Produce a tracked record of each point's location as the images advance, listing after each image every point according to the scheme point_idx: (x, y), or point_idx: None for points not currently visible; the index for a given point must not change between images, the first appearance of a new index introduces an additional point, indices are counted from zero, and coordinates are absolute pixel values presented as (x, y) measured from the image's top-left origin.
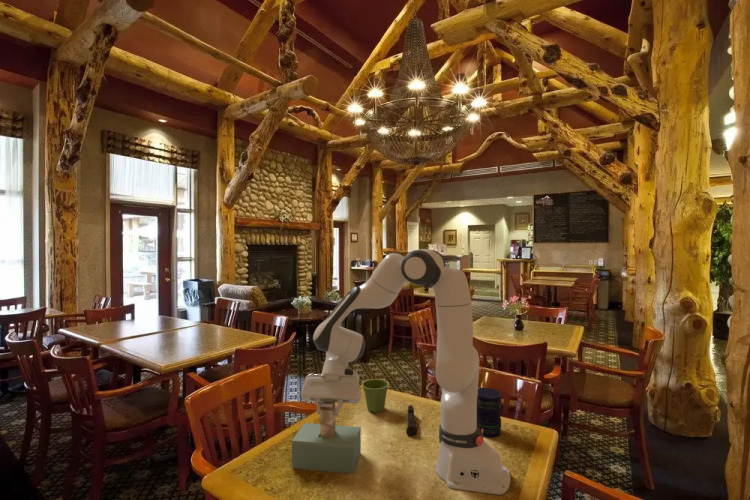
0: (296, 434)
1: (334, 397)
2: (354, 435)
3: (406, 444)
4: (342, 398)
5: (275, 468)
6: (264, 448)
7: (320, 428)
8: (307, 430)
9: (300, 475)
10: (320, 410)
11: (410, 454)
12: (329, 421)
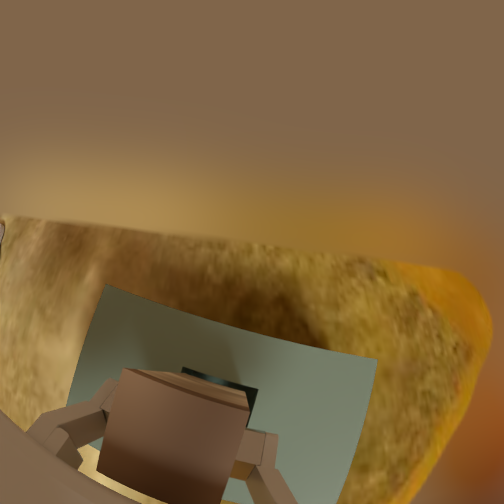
0: (364, 414)
1: (74, 476)
2: (88, 363)
3: (7, 408)
4: (12, 424)
5: (384, 367)
6: (423, 463)
7: (245, 394)
8: (315, 452)
9: (307, 328)
10: (244, 406)
11: (7, 361)
12: (181, 378)
